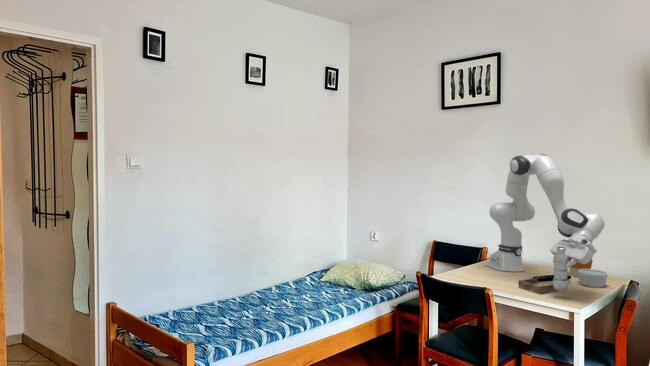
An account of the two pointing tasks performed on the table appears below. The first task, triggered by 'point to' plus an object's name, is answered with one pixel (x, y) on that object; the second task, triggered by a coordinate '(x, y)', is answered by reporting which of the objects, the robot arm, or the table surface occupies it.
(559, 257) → the plastic bottle
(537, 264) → the table surface
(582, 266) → the reusable coffee cup
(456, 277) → the table surface
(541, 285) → the brown wooden tray
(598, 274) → the ramekin
